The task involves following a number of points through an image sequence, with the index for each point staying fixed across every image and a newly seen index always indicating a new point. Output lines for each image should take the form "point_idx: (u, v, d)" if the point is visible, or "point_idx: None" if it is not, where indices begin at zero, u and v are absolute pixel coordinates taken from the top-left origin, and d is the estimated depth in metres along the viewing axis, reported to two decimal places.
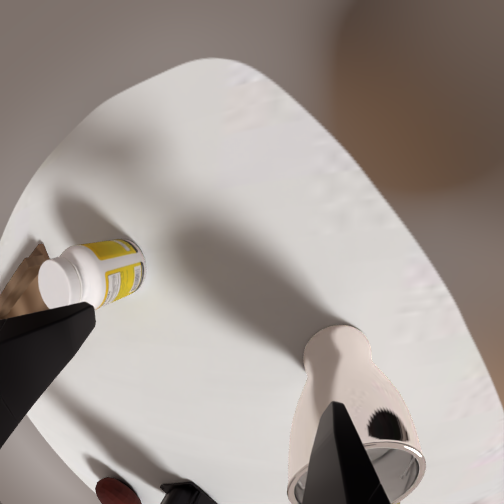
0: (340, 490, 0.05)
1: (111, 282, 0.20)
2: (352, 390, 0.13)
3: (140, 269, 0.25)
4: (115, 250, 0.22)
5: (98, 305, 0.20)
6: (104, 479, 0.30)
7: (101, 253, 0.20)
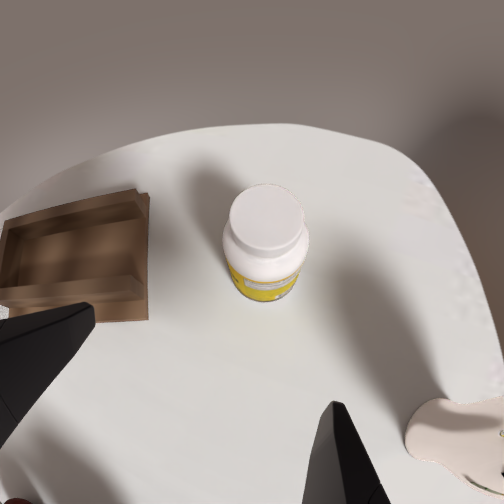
0: (340, 490, 0.05)
1: (302, 264, 0.18)
2: None
3: None
4: None
5: (281, 278, 0.17)
6: (23, 501, 0.12)
7: None
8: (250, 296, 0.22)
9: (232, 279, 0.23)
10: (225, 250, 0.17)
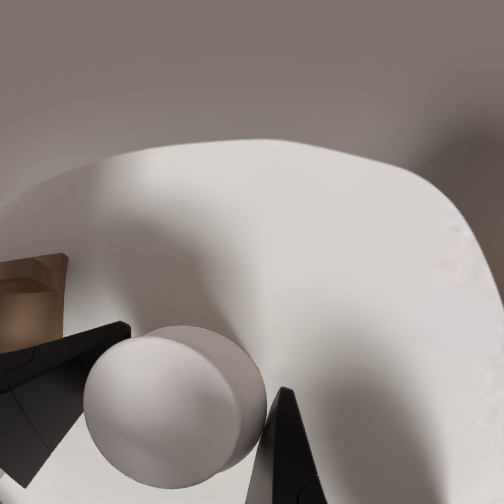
0: (271, 477, 0.05)
1: None
2: None
3: None
4: None
5: None
6: None
7: None
8: None
9: None
10: None
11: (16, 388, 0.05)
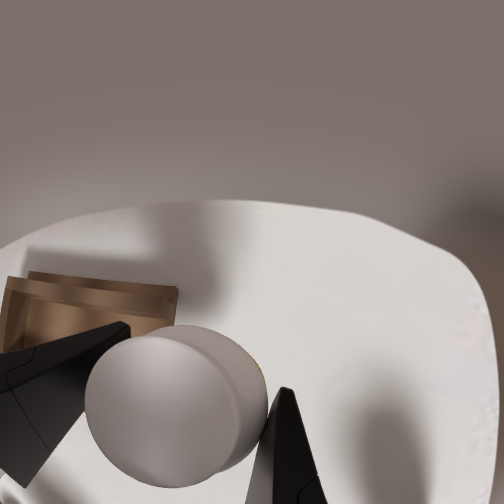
0: (271, 477, 0.05)
1: None
2: None
3: None
4: None
5: None
6: None
7: None
8: None
9: None
10: None
11: (16, 388, 0.05)
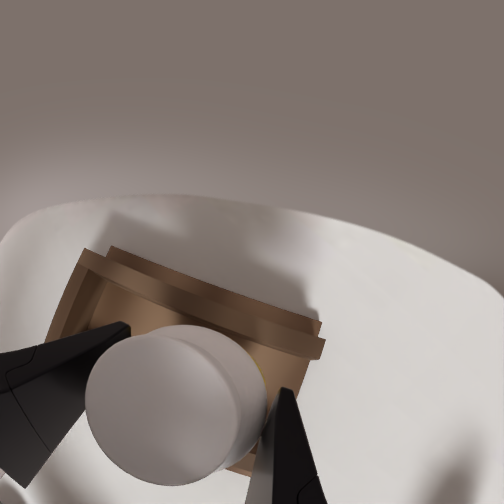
0: (271, 477, 0.05)
1: None
2: None
3: None
4: (262, 373, 0.11)
5: None
6: None
7: (261, 375, 0.10)
8: None
9: None
10: None
11: (16, 389, 0.05)
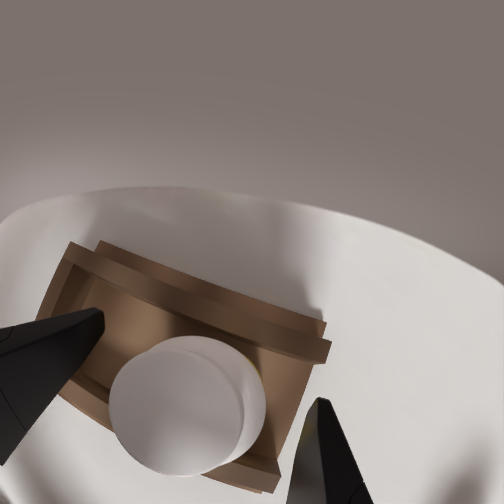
0: (321, 487, 0.05)
1: None
2: None
3: None
4: None
5: None
6: None
7: (260, 379, 0.11)
8: None
9: None
10: None
11: None
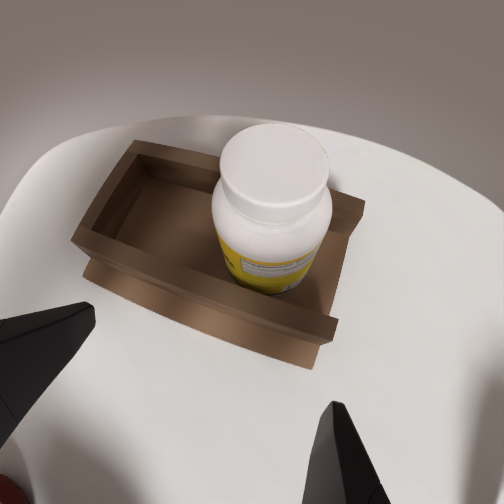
0: (340, 490, 0.05)
1: (322, 240, 0.13)
2: None
3: None
4: None
5: (294, 256, 0.12)
6: (9, 484, 0.10)
7: None
8: (250, 287, 0.16)
9: None
10: (215, 217, 0.12)
11: None
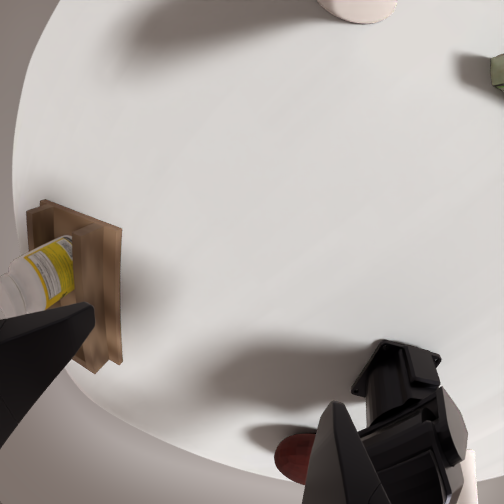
0: (340, 490, 0.05)
1: (33, 258, 0.19)
2: None
3: (65, 240, 0.23)
4: None
5: (37, 279, 0.19)
6: (280, 444, 0.26)
7: None
8: None
9: None
10: None
11: None
